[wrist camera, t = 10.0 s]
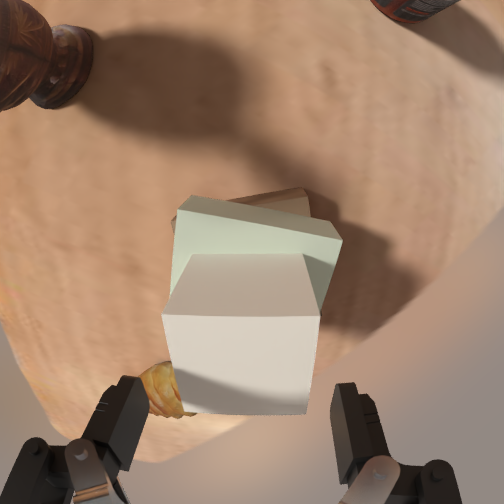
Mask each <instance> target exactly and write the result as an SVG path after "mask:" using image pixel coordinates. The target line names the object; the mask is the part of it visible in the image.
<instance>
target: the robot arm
mask: <svg viewBox="0 0 504 504" xmlns="http://www.w3.org/2000/svg"><path fill="white" fill-rule="evenodd" d="M149 409H150V403H149V398H148V396H147V393H146V391H145V388H144V385H143V382H142V380H141V378H140V377H133V376H126V375H123V376H122V377H121V378H120V380H119V382H118V384H117V386H114V385H111V386H110V387H109V388H108V389H107V390H106V391H105V392H104V393H103V395H102V397H101V399H100V401H99V403H98V405H97V407H96V410H95V411H94V413H93V415H92V417H91V419H90V421H89V423H88V425H87V427H86V429H85V431H84V433H83V435H82V437H81V438H80V439H75V440H73V441H71V442H70V443H69V444H68V445H67V446H50V445H48V444H47V443H46V442H45V441H44V440H43V439H42V438H38V437H34V438H31V439H29V440H27V441H26V442H25V443H24V445H23V447H22V449H21V451H20V453H19V455H18V457H17V459H16V462H15V464H14V466H13V468H12V471H11V472H10V475H9V477H8V479H7V482H6V484H5V486H4V489H3V491H2V494H1V496H0V504H70V502H71V499H72V496H73V493H74V490H75V493H76V496H73V502H74V504H131V503H130V501H129V499H128V497H127V495H126V493H125V491H124V488H123V486H122V484H121V482H120V480H119V477H118V473H119V470H124V471H129V468H130V465H131V462H132V460H133V457H134V454H135V451H136V448H137V445H138V442H139V439H140V436H141V433H142V430H143V428H144V425H145V422H146V419H147V416H148V413H149ZM330 420H331V427H332V433H333V439H334V446H335V452H336V459H337V466H338V473H339V481H340V484H348V491H347V492H346V494H345V495H344V496H343V498H342V499H341V501H340V502H339V503H338V504H462V501H461V497H460V493H459V489H458V485H457V482H456V478H455V474H454V471H453V468H452V467H451V465H450V464H449V463H448V462H446V461H443V460H432V461H430V462H428V463H427V464H426V465H425V466H410V465H403V464H400V463H398V462H397V461H396V460H394V459H393V458H392V457H391V455H390V453H389V450H388V447H387V443H386V440H385V436H384V433H383V429H382V426H381V423H380V419H379V416H378V412H377V409H376V406H375V403H374V401H373V400H372V399H371V398H370V397H369V395H368V394H358V391H357V387H356V384H355V383H354V382H352V383H341V384H340V383H339V384H336V385H335V390H334V394H333V398H332V402H331V407H330Z"/></svg>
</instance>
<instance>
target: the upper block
mask: <svg viewBox="0 0 504 504" xmlns="http://www.w3.org/2000/svg"><path fill="white" fill-rule="evenodd" d="M342 242H343V240H342V238H341V237H340V235H339V234H338V232H337V231H336V229H335V228H334V226H333V225H332V223H331V222H330V221H326V220H321V219H316V218H312V217H307V216H302V215H297V214H292V213H287V212H282V211H277V210H272V209H267V208H262V207H256V206H251V205H246V204H240V203H235V202H229V201H224V200H218V199H212V198H206V197H201V196H195V195H191V196H190V197H189V198H188V199H187V200H186V201H185V202H184V203H183V204H182V205H181V206H180V207H179V208H178V209H177V218H176V227H175V238H174V248H173V260H172V272H171V286H170V296H171V294H172V292H173V290H174V288H175V286H176V284H177V282H178V280H179V278H180V276H181V275H182V273H183V271H184V269H185V267H186V265H187V263H188V261H189V259H190V257H191V255H192V254H276V253H302V254H303V257H304V261H305V264H306V267H307V271H308V274H309V278H310V281H311V284H312V288H313V291H314V295H315V298H316V302H317V306H318V309H319V313H320V310H321V307H322V304H323V302H324V299H325V296H326V293H327V290H328V287H329V284H330V281H331V278H332V274H333V271H334V268H335V265H336V262H337V259H338V255H339V252H340V249H341V246H342Z"/></svg>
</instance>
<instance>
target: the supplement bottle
mask: <svg viewBox="0 0 504 504" xmlns="http://www.w3.org/2000/svg"><path fill="white" fill-rule="evenodd" d="M458 1H460V0H371V2H372V3H373V4H374V5H375V6H376V7H377V8H378V9H379V10H380V11H382V12H383V13H384V14H386V15H387V16H389V17H391V18H393V19H395V20H398V21H401V22H406V23H417V22H421V21H423V20H425V19H427V18H429V17H431V16H432V15H434V14H436V13H438V12H439V11H441V10H443V9H445V8H447V7H449V6H451V5H453V4H454V3H456V2H458Z"/></svg>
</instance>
